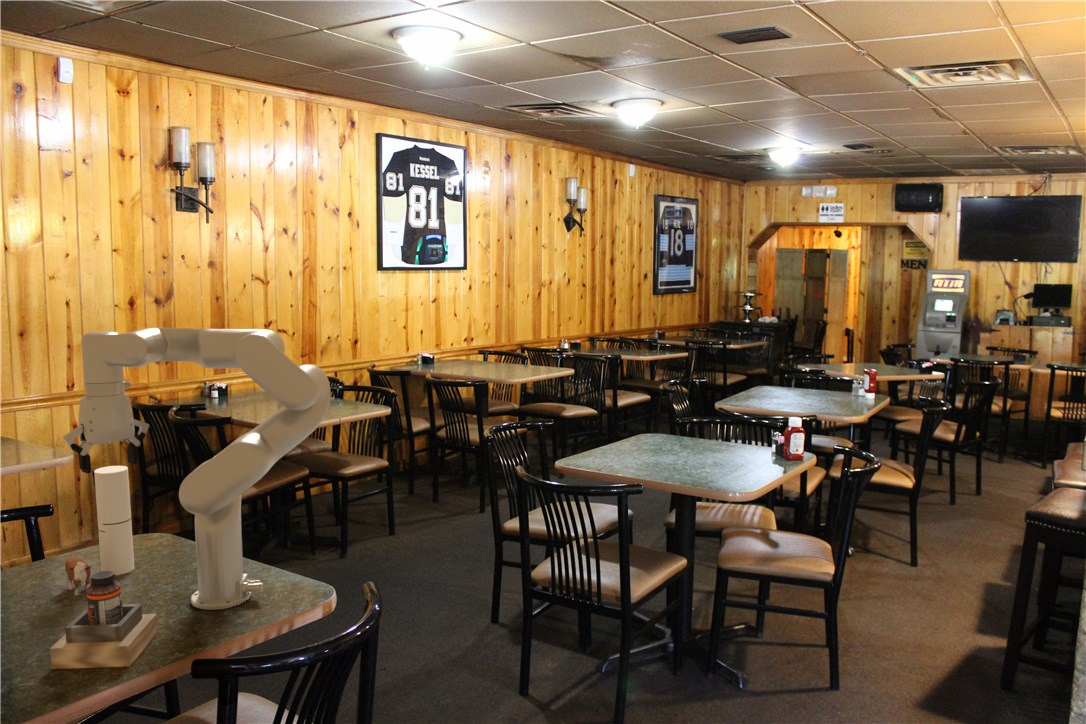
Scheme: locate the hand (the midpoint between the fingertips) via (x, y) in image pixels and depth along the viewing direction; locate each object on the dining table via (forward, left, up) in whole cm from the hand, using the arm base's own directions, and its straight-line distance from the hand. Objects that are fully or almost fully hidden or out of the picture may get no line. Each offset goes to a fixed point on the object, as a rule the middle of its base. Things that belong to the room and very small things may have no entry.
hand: (110, 467), depth 181 cm
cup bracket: (-7, +23, -30) cm, 39 cm away
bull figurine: (+11, -6, -31) cm, 33 cm away
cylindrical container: (+8, -19, -31) cm, 37 cm away
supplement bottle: (-7, +23, -26) cm, 36 cm away
